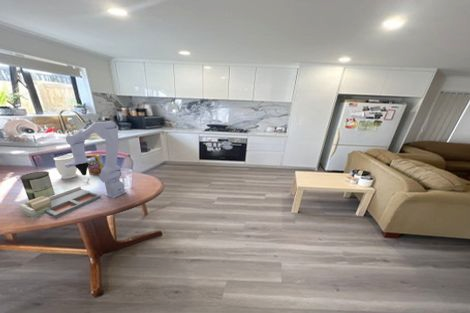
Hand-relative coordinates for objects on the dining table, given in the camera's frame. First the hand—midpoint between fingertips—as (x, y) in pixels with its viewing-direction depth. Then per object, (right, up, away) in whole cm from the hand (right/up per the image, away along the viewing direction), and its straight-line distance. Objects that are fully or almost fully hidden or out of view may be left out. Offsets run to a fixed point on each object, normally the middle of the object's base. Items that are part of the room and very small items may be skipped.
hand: (84, 174), depth 105 cm
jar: (-27, -3, +17) cm, 32 cm away
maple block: (-4, -14, -21) cm, 25 cm away
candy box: (-12, -2, +24) cm, 27 cm away
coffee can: (-16, -12, -9) cm, 22 cm away
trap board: (+4, -15, -15) cm, 22 cm away
